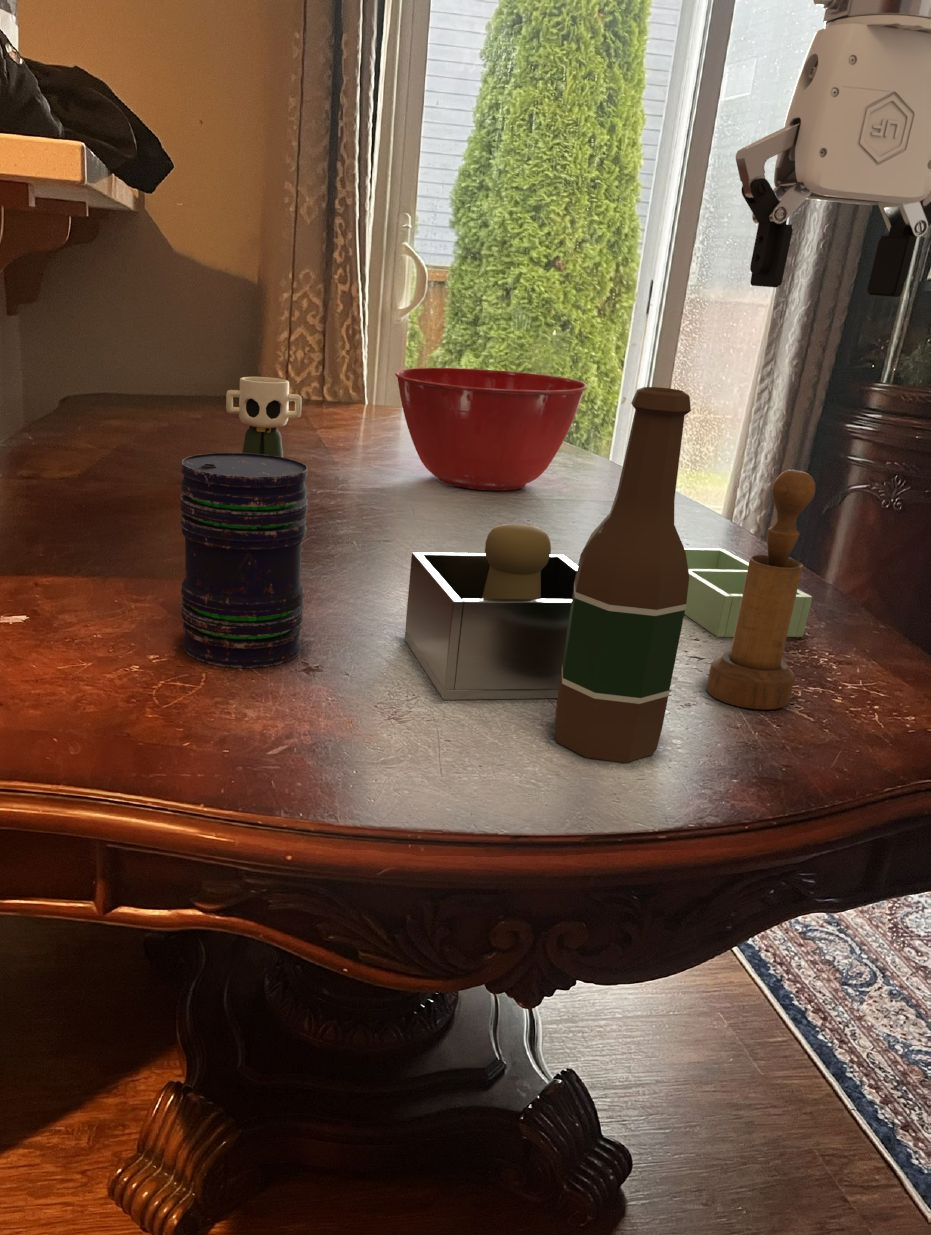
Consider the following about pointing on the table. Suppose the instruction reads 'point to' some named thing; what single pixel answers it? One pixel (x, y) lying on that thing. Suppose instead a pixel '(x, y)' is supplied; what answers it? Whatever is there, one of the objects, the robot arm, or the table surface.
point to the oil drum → (242, 558)
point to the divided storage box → (727, 592)
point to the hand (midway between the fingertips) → (824, 291)
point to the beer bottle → (629, 598)
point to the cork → (515, 561)
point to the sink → (487, 628)
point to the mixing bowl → (487, 423)
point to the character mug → (263, 412)
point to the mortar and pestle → (766, 610)
